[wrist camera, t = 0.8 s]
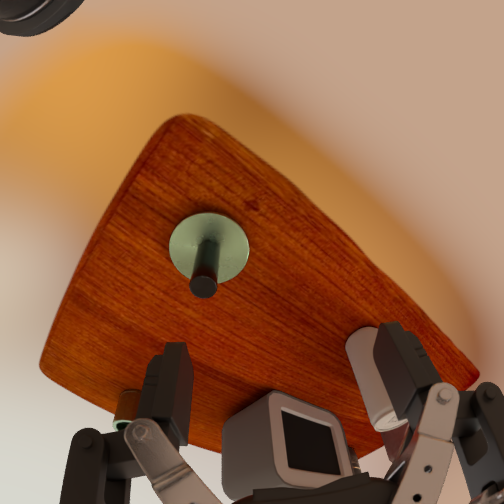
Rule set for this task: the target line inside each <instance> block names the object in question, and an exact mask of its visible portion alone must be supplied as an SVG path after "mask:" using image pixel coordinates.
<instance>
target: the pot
mask: <svg viewBox="0 0 504 504" xmlns="http://www.w3.org/2000/svg"><path fill="white" fill-rule="evenodd" d="M141 392H142V391H140V390H132V389H131V390H125V391H123V392H122V393H121V395H120V398H119V401H118V405H117V409H116V413H115V417H114V420H113V428H114V429H115V430H116V431H120V430H123V429H125V428H126V427H127V425H128V424H129V423H130V422H132V421H133V420H134V419H135V417H136V414H137V409H138V405H139V400H140V396H141Z"/></svg>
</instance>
